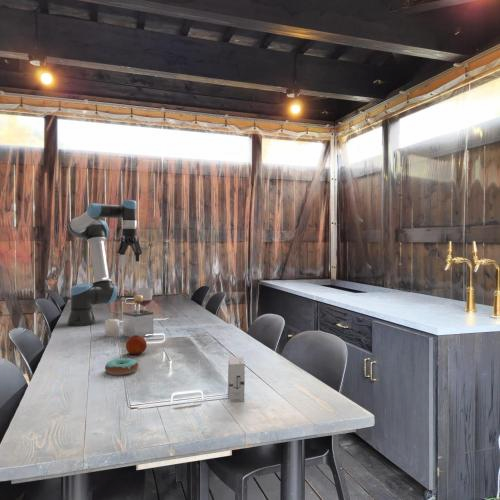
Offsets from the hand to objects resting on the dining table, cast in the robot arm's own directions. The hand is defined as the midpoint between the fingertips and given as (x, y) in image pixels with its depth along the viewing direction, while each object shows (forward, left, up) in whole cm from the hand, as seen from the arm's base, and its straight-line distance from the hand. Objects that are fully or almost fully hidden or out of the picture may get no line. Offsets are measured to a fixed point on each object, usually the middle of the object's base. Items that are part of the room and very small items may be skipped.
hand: (129, 266), depth 236 cm
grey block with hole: (+16, -5, -35) cm, 39 cm away
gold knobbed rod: (+16, -5, -33) cm, 37 cm away
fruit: (+47, -26, -35) cm, 64 cm away
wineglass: (+2, +8, -35) cm, 36 cm away
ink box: (+115, -34, -35) cm, 125 cm away
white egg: (+6, -14, -35) cm, 38 cm away
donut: (+65, -44, -35) cm, 86 cm away
